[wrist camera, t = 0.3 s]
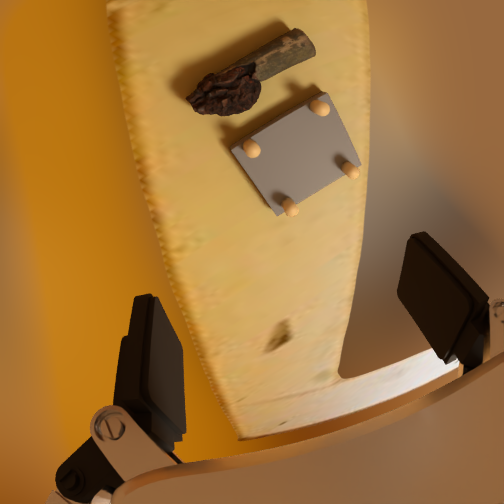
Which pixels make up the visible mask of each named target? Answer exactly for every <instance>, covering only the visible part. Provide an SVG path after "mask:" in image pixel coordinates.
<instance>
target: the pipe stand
mask: <svg viewBox="0 0 504 504" xmlns="http://www.w3.org/2000/svg"><path fill="white" fill-rule="evenodd" d="M230 149H231V151H232V153H233V154H234V155H235V157H236V158H237V160H238V161H239V162H240V164H241V165H242V167H243V168H244V169H245V171H246V172H247V174H248V175H249V177H250V178H251V179H252V181H253V182H254V184H255V185H256V187H257V188H258V190H259V191H260V192H261V194H262V195H263V197H264V198H265V200H266V201H267V203H268V204H269V205H270V207H271V208H272V210H273V211H274V213H275V214H276V216H279V215H280V214H282V213H283V212H285V213H286V215H287V216H289V217H293V216H295V215H297V213H298V211H299V209H298V207H297V205H296V204H298V203H300V202H301V201H303V200H304V199H306V198H308V197H309V196H311V195H313V194H314V193H316V192H318V191H319V190H321V189H322V188H324V187H326V186H327V185H329V184H331V183H332V182H334V181H336V180H337V179H339V178H341V177H342V176H344V175H345V174H346V175H347V176H348V177H349V178H350V179H356V178H357V177H358V176H359V173H360V171H359V169H358V168H357V167H359V166H360V165H361V162H360V160H359V158H358V155H357V153H356V151H355V148H354V146H353V144H352V142H351V140H350V137H349V135H348V133H347V131H346V129H345V127H344V125H343V122H342V120H341V118H340V116H339V114H338V112H337V110H336V108H335V106H334V104H333V102H332V100H331V99H330V97H329V95H328V93H326V92H320V93H319V94H317V95H315V96H313V97H311V98H309V99H308V100H306V101H304V102H302V103H300V104H299V105H297V106H295V107H293V108H292V109H290V110H288V111H286V112H285V113H283V114H281V115H280V116H278V117H276V118H274V119H273V120H271V121H269V122H268V123H266V124H265V125H263V126H261V127H260V128H258V129H256V130H255V131H253V132H252V133H250V134H248V135H247V136H245V137H244V138H242V139H241V140H239V141H238V142H236V143H234V144H233V145H231V146H230Z"/></svg>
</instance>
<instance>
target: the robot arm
mask: <svg viewBox="0 0 504 504" xmlns="http://www.w3.org/2000/svg"><path fill="white" fill-rule="evenodd" d="M397 295H398V298H399V299H400V301H401V302H402V304H403V305H404V306H405V308H406V309H407V311H408V312H409V314H410V315H411V316H412V318H413V319H414V321H415V322H416V324H417V325H418V327H419V328H420V330H421V331H422V333H423V334H424V336H425V337H426V339H427V341H428V342H429V344H430V345H431V347H432V348H433V350H434V351H435V353H436V355H437V356H438V358H440V359H443V361H444V363H445V364H448V363H450V362H452V361H454V360H456V358H458V360H459V361H460V362H459V370H458V378H457V379H456V380H454V381H452V382H451V383H448V384H447V385H445V386H443V387H441V388H439V389H437V390H435V391H433V392H431V393H429V394H427V395H425V396H423V397H421V398H419V399H417V400H415V401H413V402H410V403H408V404H406V405H404V406H402V407H399V408H397V409H394V410H392V411H390V412H387V413H385V414H383V415H380V416H378V417H375V418H373V419H370V420H367V421H365V422H362V423H359V424H356V425H354V426H351V427H348V428H345V429H342V430H339V431H336V432H333V433H329V434H326V435H323V436H319V437H316V438H313V439H309V440H305V441H301V442H297V443H294V444H290V445H285V446H281V447H277V448H273V449H268V450H263V451H258V452H252V453H247V454H242V455H236V456H230V457H224V458H218V459H210V460H203V461H197V462H189V463H184V462H183V461H182V460H181V459H180V458H179V457H178V456H177V455H176V454H175V453H174V452H173V450H174V442H179V441H182V434H185V433H186V416H185V415H186V414H185V396H184V369H183V349H182V345H181V342H180V341H179V339H178V337H177V335H176V333H175V331H174V329H173V327H172V325H171V323H170V321H169V319H168V317H167V315H166V313H165V311H164V309H163V307H162V305H161V303H160V301H159V298H158V297H153V296H152V294H145V295H140V296H136V297H135V298H134V302H133V307H132V314H131V319H130V325H129V331H128V335H127V336H124V337H123V338H122V341H121V346H120V352H119V359H118V366H117V373H116V382H115V390H114V399H113V405H109V406H105V407H103V408H102V409H100V410H98V411H97V412H96V413H95V415H94V416H93V418H92V420H91V424H90V432H91V435H92V436H91V437H90V438H89V439H88V440H87V441H86V442H85V443H84V444H83V445H82V446H81V447H79V448H78V449H77V450H76V451H75V452H74V453H73V454H72V455H71V456H70V457H69V458H68V459H67V460H66V461H65V462H64V463H63V464H61V466H60V467H59V468H58V470H57V472H56V478H55V481H56V486H57V490H56V491H54V490H52V492H51V494H50V496H49V498H48V499H47V501H46V503H45V504H504V299H495V300H493V301H492V302H491V304H490V305H489V304H488V299H489V297H488V296H487V295H486V293H485V292H484V291H483V290H482V289H481V288H480V287H479V285H478V284H477V283H476V282H475V281H474V280H473V279H472V278H471V277H470V276H469V275H468V274H467V272H466V271H465V270H464V269H463V268H462V267H461V266H460V265H459V264H458V263H457V262H456V261H455V260H454V259H453V258H452V257H451V256H450V255H449V254H448V253H447V252H446V251H445V250H444V249H443V248H442V247H441V246H440V245H439V244H438V243H437V242H436V241H435V240H434V239H433V238H432V237H431V236H429V235H428V233H426V232H419V233H415V234H412V235H411V236H410V239H409V240H408V241H407V245H406V251H405V256H404V261H403V266H402V271H401V275H400V280H399V284H398V289H397Z"/></svg>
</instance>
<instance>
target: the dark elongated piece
mask: <svg viewBox="0 0 504 504" xmlns="http://www.w3.org/2000/svg"><path fill="white" fill-rule="evenodd" d="M315 55H316V50H315V47H314V45H313V43H312V42H311V41H310V39H309V38H308V36H307V35H306V34H305V33H304V32H303V31H301V30H300V29H296V28H294V29H293V30H291V31H289V32H288V33H286V34H284V35H282V36H280V37H278V38H277V39H275V40H273V41H271V42H269V43H268V44H266V45H264V46H262V47H261V48H259V49H257V50H256V51H254V52H252V53H251V54H249V55H247V56H245V57H244V58H242V59H240V60H239V61H237V62H236V63H234V64H232V65H231V66H229V67H227V68H226V69H224V70H222V71H221V72H219V73H216V74H213V73H210V74H208V75H206V76H205V77H204V78H203V80H202V81H201V82H199V84H198V86H197V89H196V90H195V91H194V92H193V93H192V94H191V95H189V96H187V97H186V100H188V101H189V102H190V103H191V105H192V107H193V110H194V111H195V112H198V113H199V114H202V115H204V114H210V115H212V114H218V115H219V116H230V115H232V114H239V113H242V112H244V111H246V110H249V109H250V108H251V107H252V106H253V105H254V104H255V103H256V102H257V99H258V98H259V95H260V92H261V83H260V82H259V81H264V80H266V79H268V78H270V77H272V76H274V75H276V74H278V73H280V72H281V71H283V70H285V69H287V68H289V67H291V66H294V65H296V64H298V63H300V62H303V61H305V60H307V59H310V58H312V57H314V56H315Z"/></svg>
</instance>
